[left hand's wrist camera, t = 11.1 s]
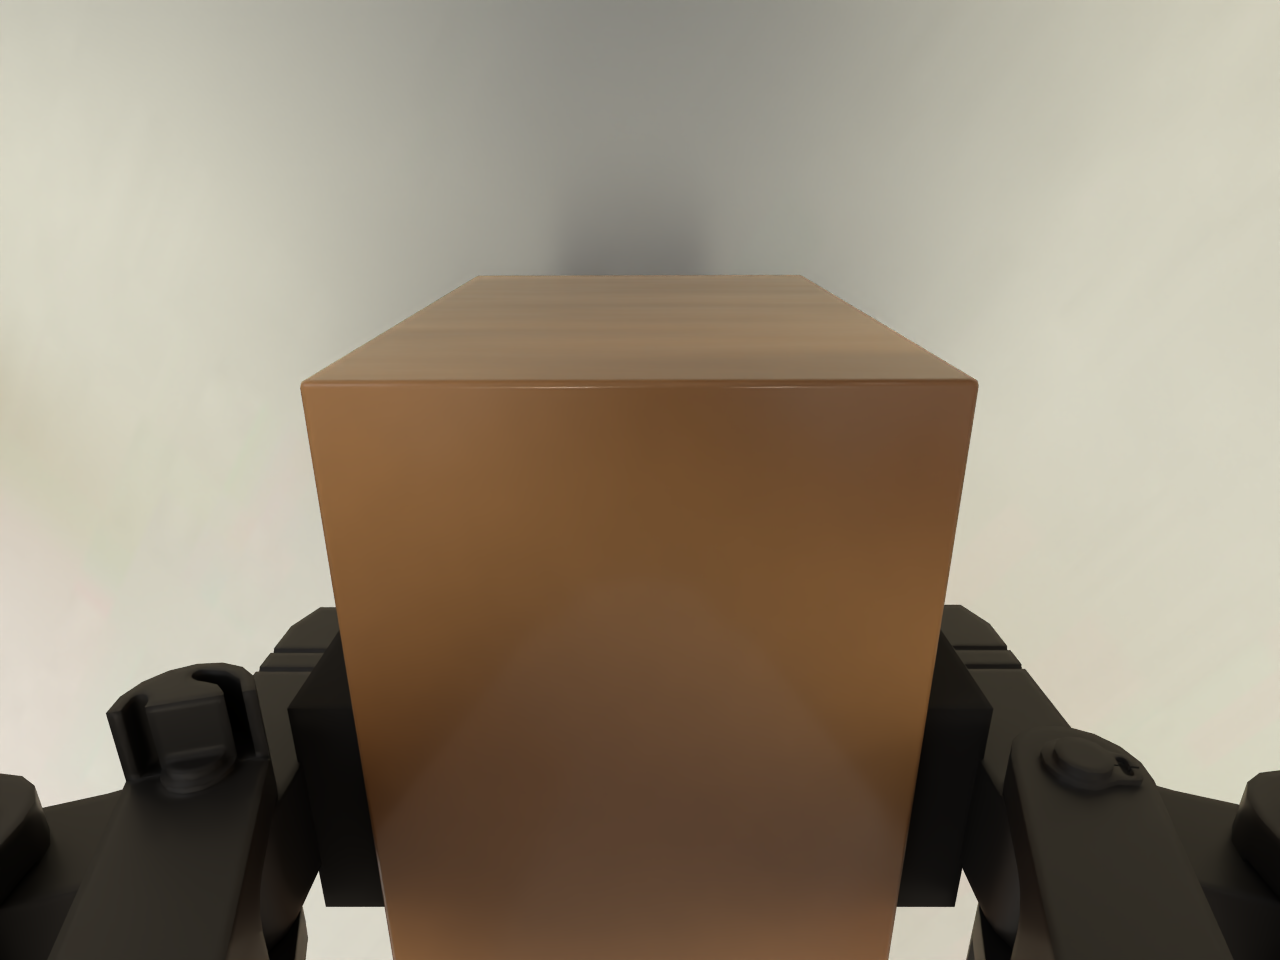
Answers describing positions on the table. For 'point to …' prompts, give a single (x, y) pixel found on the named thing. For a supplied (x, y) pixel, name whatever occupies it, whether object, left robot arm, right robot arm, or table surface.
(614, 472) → the beam
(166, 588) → the table surface
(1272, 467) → the table surface
